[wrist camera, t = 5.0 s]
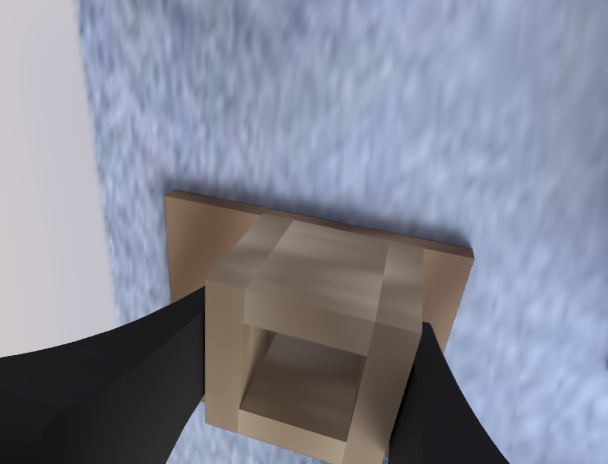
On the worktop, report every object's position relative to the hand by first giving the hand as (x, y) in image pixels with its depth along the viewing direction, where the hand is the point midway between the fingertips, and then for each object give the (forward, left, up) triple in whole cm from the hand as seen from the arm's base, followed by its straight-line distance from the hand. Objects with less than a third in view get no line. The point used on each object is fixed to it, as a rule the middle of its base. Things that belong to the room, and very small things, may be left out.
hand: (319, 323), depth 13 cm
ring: (0, 0, -1) cm, 1 cm away
